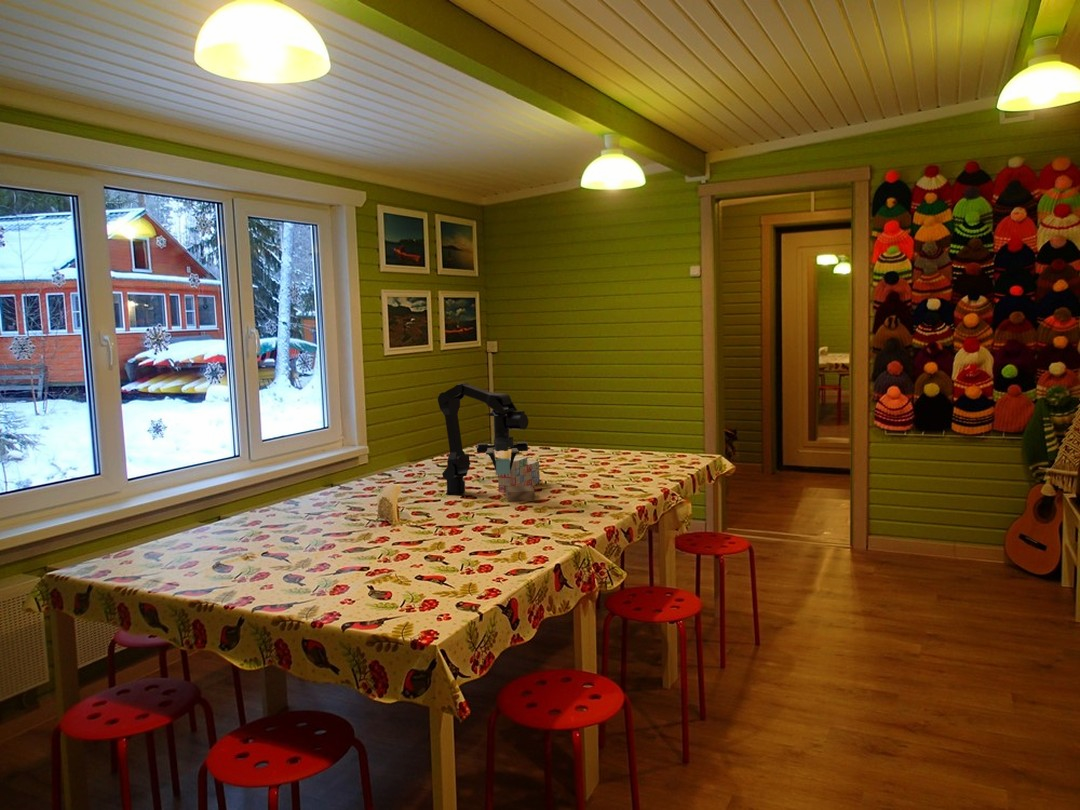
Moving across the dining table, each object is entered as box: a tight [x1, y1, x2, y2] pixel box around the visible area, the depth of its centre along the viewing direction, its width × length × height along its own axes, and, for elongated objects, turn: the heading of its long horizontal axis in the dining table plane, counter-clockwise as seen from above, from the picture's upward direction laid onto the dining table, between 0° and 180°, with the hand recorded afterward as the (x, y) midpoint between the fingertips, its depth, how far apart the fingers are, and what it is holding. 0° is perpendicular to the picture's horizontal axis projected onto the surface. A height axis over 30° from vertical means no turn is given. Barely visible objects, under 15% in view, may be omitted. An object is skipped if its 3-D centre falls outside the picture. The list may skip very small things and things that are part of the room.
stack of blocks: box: [497, 456, 541, 494], centre depth 322 cm, size 21×6×12 cm, turn 150°
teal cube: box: [495, 457, 511, 475], centre depth 300 cm, size 5×5×5 cm
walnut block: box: [505, 485, 536, 503], centre depth 303 cm, size 10×10×4 cm
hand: (503, 470), depth 300 cm, fingers closed on teal cube, 5 cm apart
